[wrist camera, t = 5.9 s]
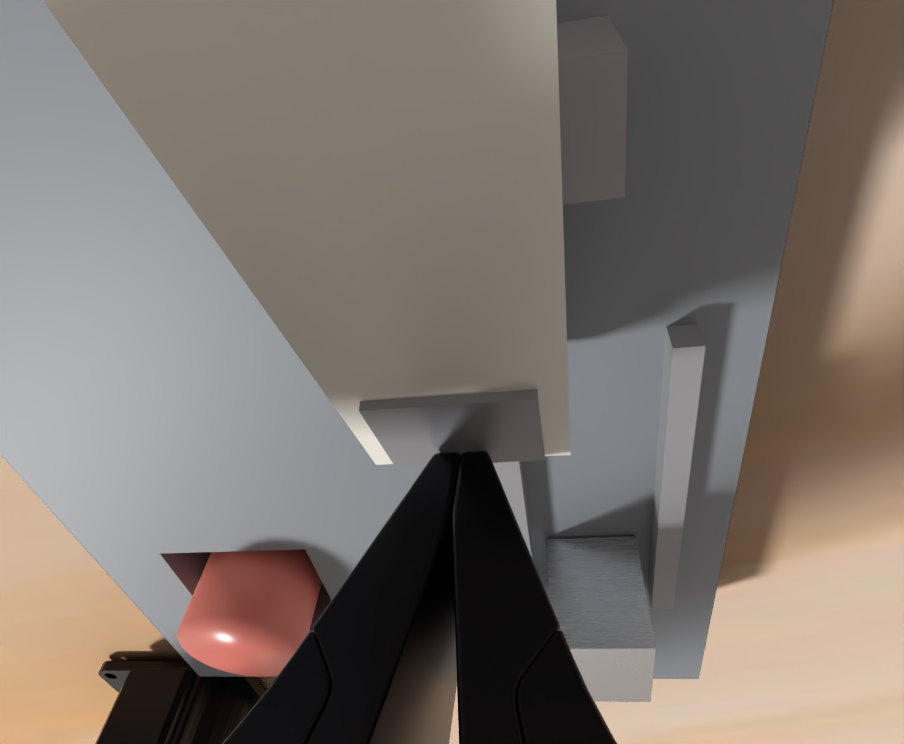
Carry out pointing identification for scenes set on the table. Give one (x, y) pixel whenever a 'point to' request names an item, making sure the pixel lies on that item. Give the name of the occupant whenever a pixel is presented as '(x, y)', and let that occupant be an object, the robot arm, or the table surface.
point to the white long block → (372, 195)
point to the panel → (296, 391)
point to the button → (251, 610)
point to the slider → (604, 614)
